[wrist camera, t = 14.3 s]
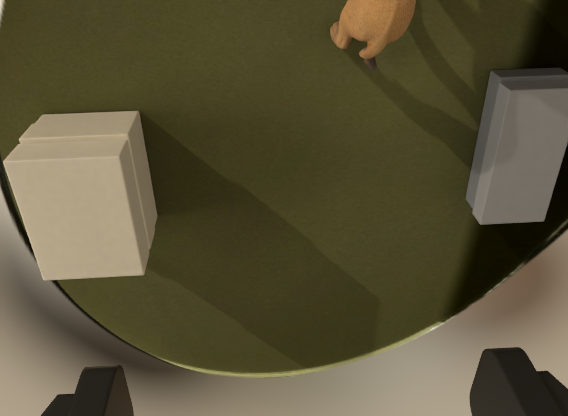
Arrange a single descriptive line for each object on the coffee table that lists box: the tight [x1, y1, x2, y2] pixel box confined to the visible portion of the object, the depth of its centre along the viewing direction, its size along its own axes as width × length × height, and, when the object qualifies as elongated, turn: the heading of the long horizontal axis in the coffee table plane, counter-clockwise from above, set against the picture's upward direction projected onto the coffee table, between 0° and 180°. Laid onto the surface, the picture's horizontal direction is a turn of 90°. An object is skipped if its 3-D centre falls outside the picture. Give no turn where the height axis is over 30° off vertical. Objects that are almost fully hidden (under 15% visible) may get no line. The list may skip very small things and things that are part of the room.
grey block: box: [465, 68, 568, 225], centre depth 34 cm, size 10×4×3 cm, turn 1°
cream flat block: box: [3, 140, 149, 280], centre depth 30 cm, size 8×6×2 cm
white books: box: [19, 111, 157, 249], centre depth 33 cm, size 8×6×4 cm
